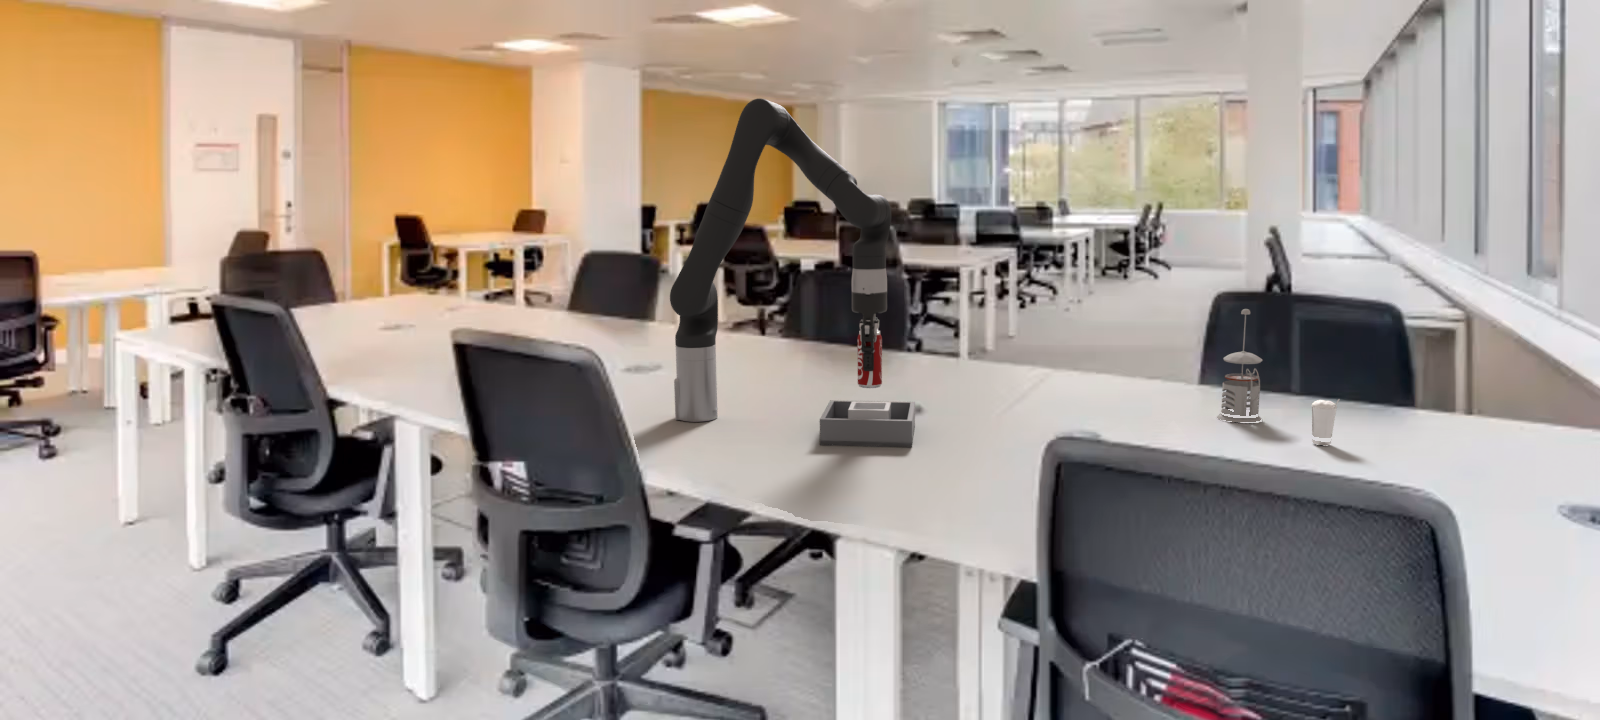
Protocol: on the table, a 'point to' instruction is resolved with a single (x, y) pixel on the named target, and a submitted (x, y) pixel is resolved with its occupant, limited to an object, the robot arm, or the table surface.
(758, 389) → the table surface
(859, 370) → the soda can
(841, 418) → the box
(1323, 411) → the milkshake
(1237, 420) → the french press
